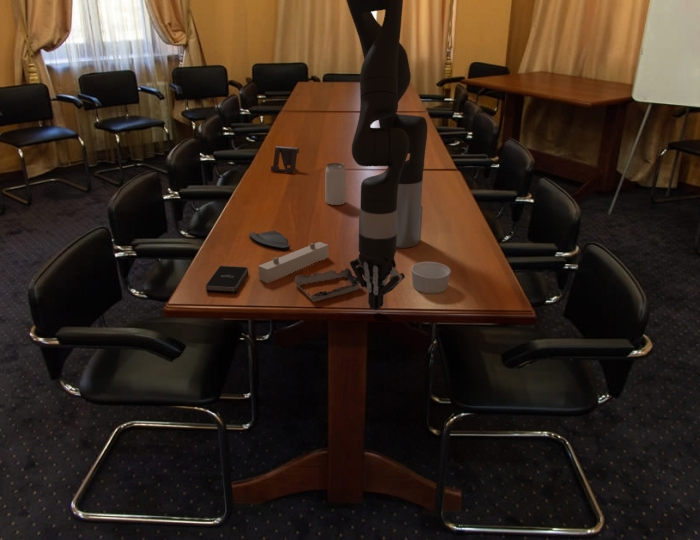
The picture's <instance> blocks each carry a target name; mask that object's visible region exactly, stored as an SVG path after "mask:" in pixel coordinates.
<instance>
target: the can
mask: <svg viewBox="0 0 700 540" xmlns="http://www.w3.org/2000/svg"><path fill="white" fill-rule="evenodd" d="M324 174H325V176H324V177H325V180H324V181H325V187H324V190H325V194H324V195H325V196H324V197H325V203H326V204H327V205H328V204H331V205H330V206H332V205H340V206H342V205H341V204H343V205H345V204H346V203H347V169H346V165H345V164H344V163H342V162H341V163H340V162H331V163H328V164H326V168H325V172H324ZM344 203H345V204H344Z"/></svg>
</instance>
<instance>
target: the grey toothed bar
mask: <svg viewBox="0 0 700 540" xmlns="http://www.w3.org/2000/svg"><path fill="white" fill-rule="evenodd" d="M326 258H327V259H328V258H329V244H328V243H324V242H321V241H318V242H316V243H315V242H311V243H310V244H309V245H308V246H305V247H303V248H300V249H298V250H294V251H293V252H291V253H287V254H285V255H282V256H280V257H276V256H275V257H273V258H272V260H270V261H267V262H264V263H262V264H259V265H258V277H259V279H258V280H260V281H261V282H264V283H266V284H271V283H272V281H273V282H274V280H275V281H277V280H279V278H280V279H282V278H284V277H286V275H287V276H289V275H291V274H293V272H294V273H296V272H298V271H301V270H303V269H305V268H307V267H306V266H308V267H310V266H312V265H314V264H313V263H315V262H317V263H319V262H318V261H320V262H321V260H322V261H324V260H327V259H326ZM311 264H312V265H311ZM315 264H316V263H315ZM309 265H310V266H309ZM304 267H305V268H304ZM302 268H303V269H302ZM300 269H301V270H300ZM297 270H298V271H297ZM295 271H296V272H295ZM290 273H291V274H290ZM288 274H289V275H288ZM283 276H284V277H283ZM281 277H282V278H281ZM276 279H277V280H276Z"/></svg>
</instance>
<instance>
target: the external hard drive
mask: <svg viewBox="0 0 700 540" xmlns="http://www.w3.org/2000/svg"><path fill="white" fill-rule="evenodd" d="M248 276H249V268H248V266H235V265H233V266H232V265H231V266H230V265H219V266H218V268H216V270H215V271H214V273H213V274H212V276H211V277H210V279H208V281H207V282H206V284H205V291H206V293H208V294H209V293H210V294H212V293H213V294H227V295H228V294H230V295H236V294H237V293H238V291H239V290H240V288H241V287H242V285H243V283H244V281H245V279H246V278H247V277H248Z"/></svg>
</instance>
